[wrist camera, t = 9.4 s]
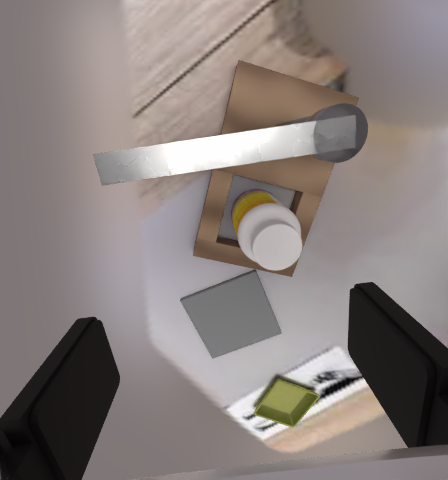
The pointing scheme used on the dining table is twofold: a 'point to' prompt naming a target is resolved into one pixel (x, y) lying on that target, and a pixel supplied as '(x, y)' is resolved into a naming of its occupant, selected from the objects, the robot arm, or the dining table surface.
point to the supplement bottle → (266, 230)
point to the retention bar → (242, 147)
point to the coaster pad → (232, 314)
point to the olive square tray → (286, 403)
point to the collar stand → (273, 171)
